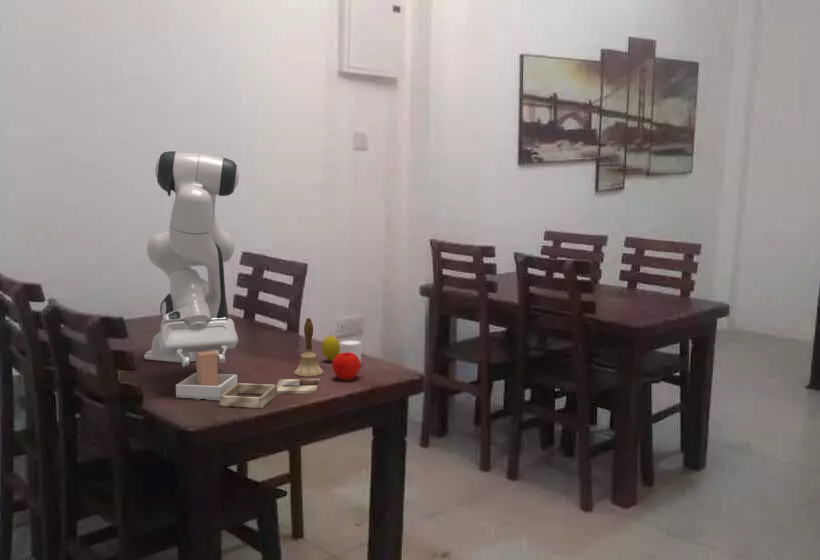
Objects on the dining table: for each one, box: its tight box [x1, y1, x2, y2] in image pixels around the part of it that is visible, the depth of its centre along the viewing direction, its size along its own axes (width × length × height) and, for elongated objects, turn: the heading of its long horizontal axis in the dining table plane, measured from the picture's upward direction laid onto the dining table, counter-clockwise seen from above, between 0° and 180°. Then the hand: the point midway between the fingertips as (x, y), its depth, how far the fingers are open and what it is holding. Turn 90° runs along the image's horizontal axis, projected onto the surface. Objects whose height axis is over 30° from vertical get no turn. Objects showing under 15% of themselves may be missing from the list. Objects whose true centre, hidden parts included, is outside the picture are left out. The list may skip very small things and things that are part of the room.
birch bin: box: [219, 382, 278, 409], centre depth 213 cm, size 11×12×2 cm
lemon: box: [321, 334, 340, 362], centre depth 252 cm, size 6×6×8 cm
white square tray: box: [175, 372, 238, 401], centre depth 219 cm, size 12×12×4 cm
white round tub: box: [339, 339, 363, 366], centre depth 247 cm, size 7×7×7 cm
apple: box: [331, 353, 361, 381], centre depth 233 cm, size 8×8×7 cm
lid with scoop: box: [276, 378, 321, 395], centre depth 224 cm, size 11×11×2 cm
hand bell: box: [294, 317, 324, 378], centre depth 238 cm, size 8×8×16 cm
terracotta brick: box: [195, 350, 219, 386], centre depth 219 cm, size 4×4×10 cm
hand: (204, 363), depth 217 cm, fingers open, 8 cm apart
